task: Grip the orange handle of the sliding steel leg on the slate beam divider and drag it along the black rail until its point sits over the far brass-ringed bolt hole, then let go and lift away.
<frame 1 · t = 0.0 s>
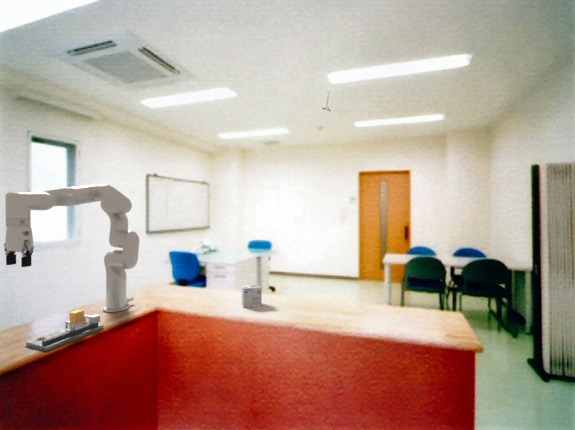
hand: (18, 265, 124), 31 cm above the table, tool pointing down, fingers open, 9 cm apart
light bulb box: (251, 305, 176), on the table
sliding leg: (72, 320, 133), point 6 cm above the table, slide at 0.0 cm
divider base: (67, 336, 131), on the table
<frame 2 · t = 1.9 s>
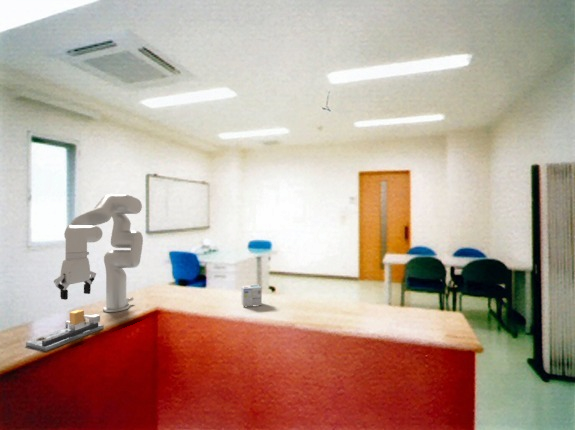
hand: (76, 296, 131), 17 cm above the table, tool pointing down, fingers open, 9 cm apart
nothing on the table moved.
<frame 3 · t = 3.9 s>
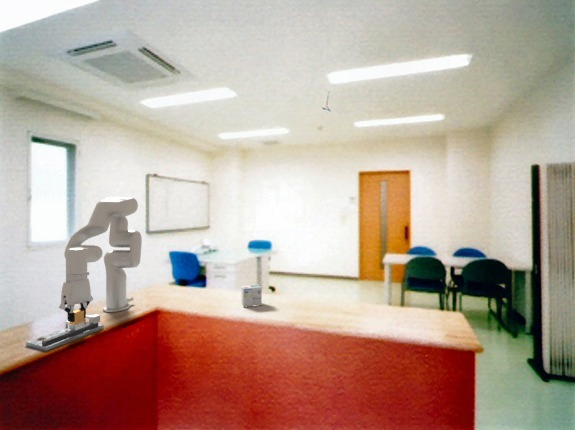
hand: (76, 319, 132), 7 cm above the table, tool pointing down, fingers closed on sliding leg, 4 cm apart
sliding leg: (72, 320, 133), point 6 cm above the table, slide at 0.0 cm, touching gripper
everything else where it was.
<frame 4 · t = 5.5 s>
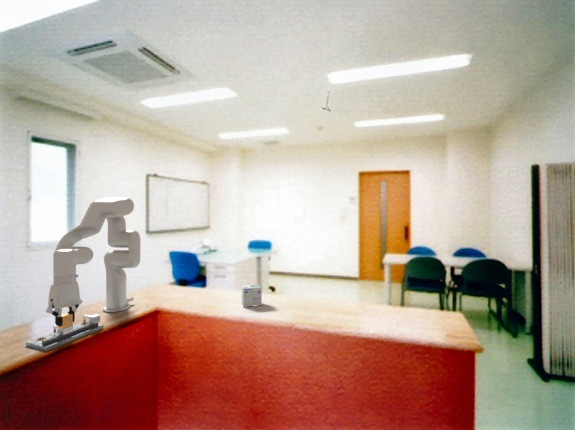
hand: (65, 323, 127), 7 cm above the table, tool pointing down, fingers closed on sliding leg, 4 cm apart
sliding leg: (61, 324, 128), point 6 cm above the table, slide at 4.9 cm, touching gripper
everything else where it was.
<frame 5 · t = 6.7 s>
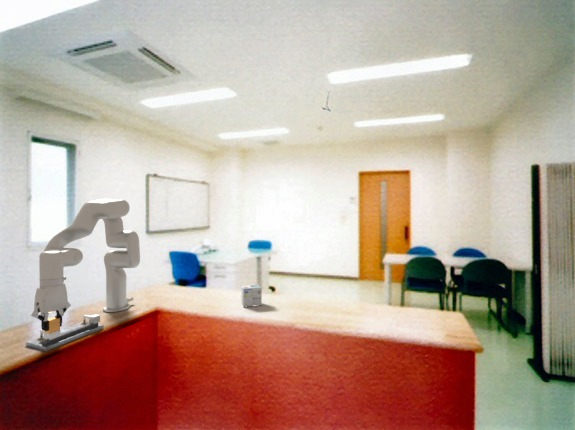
hand: (52, 327, 123), 7 cm above the table, tool pointing down, fingers closed on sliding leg, 4 cm apart
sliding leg: (47, 328, 123), point 6 cm above the table, slide at 9.9 cm, touching gripper
everything else where it was.
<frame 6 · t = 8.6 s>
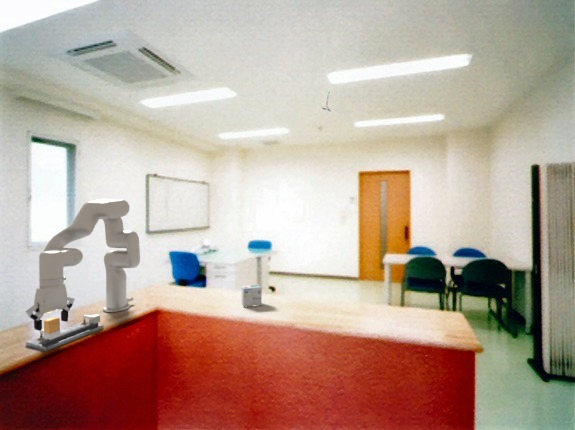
hand: (51, 325, 122), 8 cm above the table, tool pointing down, fingers open, 9 cm apart
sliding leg: (47, 328, 123), point 6 cm above the table, slide at 10.0 cm
everything else where it was.
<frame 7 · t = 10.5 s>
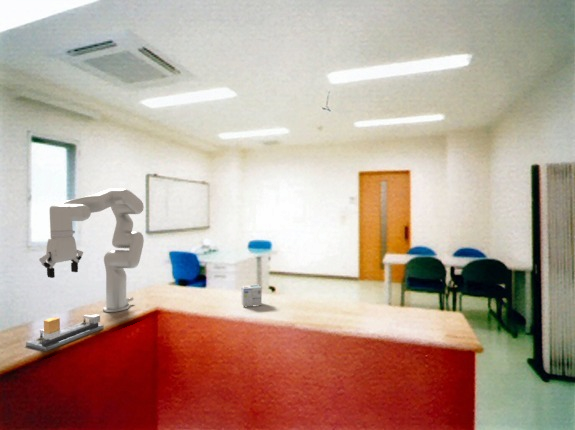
hand: (63, 274, 131), 26 cm above the table, tool pointing down, fingers open, 9 cm apart
nothing on the table moved.
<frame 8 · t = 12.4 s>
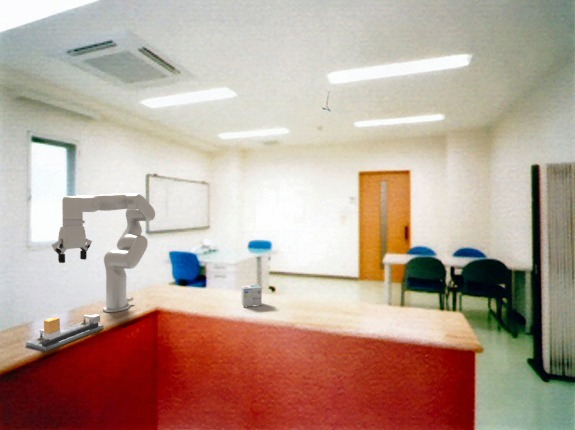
hand: (73, 261, 141), 30 cm above the table, tool pointing down, fingers open, 9 cm apart
nothing on the table moved.
at the end: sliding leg slide at 10.0 cm; the gripper is holding nothing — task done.
